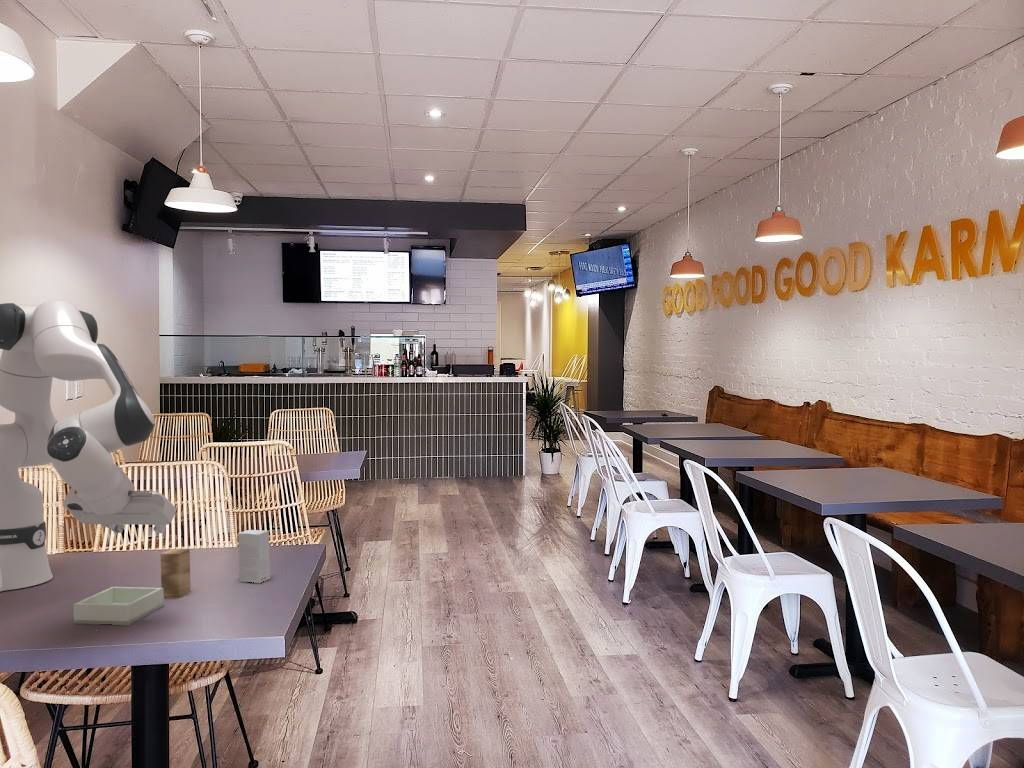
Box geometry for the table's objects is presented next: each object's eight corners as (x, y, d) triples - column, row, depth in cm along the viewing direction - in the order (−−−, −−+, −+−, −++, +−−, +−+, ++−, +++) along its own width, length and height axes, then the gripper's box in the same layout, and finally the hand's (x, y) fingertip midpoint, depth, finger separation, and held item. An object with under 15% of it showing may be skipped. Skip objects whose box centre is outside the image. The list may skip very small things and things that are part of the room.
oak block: (161, 597, 167) (160, 553, 167) (172, 591, 172) (171, 548, 171) (179, 597, 167) (178, 553, 166) (190, 592, 171) (189, 549, 171)
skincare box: (270, 579, 181) (269, 530, 180) (259, 584, 177) (258, 534, 176) (249, 577, 182) (248, 529, 182) (238, 582, 178) (237, 532, 178)
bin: (73, 623, 151) (73, 604, 151) (112, 604, 163) (112, 586, 162) (128, 625, 149) (127, 605, 149) (163, 606, 161) (163, 587, 161)
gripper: (163, 478, 147) (192, 517, 157) (69, 479, 150) (103, 517, 160) (150, 505, 143) (181, 543, 153) (54, 505, 146) (90, 542, 156)
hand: (140, 530), depth 156 cm, fingers open, 8 cm apart
